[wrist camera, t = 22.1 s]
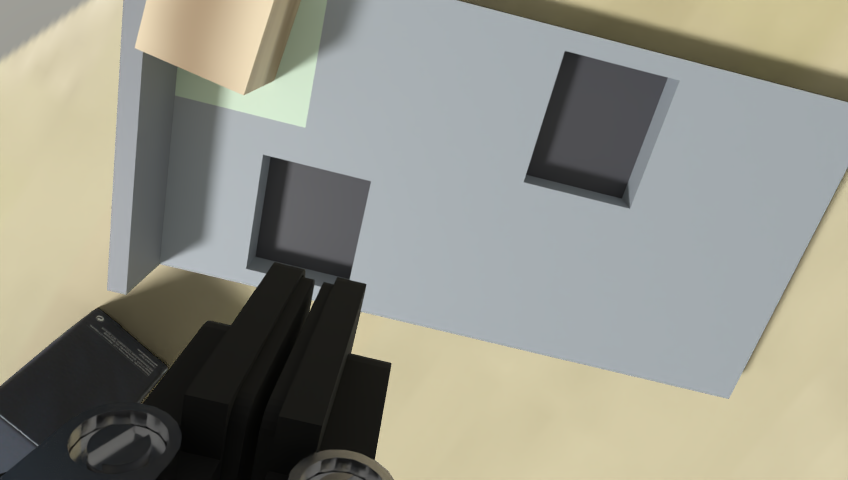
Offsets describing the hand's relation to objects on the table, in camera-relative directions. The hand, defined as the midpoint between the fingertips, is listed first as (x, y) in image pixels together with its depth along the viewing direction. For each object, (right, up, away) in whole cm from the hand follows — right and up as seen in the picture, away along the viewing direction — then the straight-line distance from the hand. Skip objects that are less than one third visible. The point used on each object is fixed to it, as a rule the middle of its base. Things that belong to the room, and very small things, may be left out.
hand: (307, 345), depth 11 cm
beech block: (-7, +13, +20) cm, 25 cm away
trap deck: (+5, +5, +25) cm, 26 cm away
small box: (-21, -7, +31) cm, 38 cm away
